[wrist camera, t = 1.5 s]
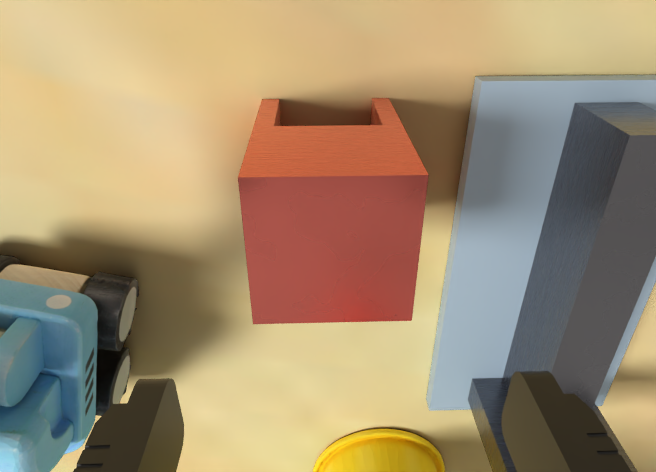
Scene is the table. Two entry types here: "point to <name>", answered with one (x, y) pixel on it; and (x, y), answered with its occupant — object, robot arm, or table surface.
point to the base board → (510, 221)
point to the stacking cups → (380, 453)
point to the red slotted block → (332, 219)
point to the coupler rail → (583, 265)
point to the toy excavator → (58, 359)
